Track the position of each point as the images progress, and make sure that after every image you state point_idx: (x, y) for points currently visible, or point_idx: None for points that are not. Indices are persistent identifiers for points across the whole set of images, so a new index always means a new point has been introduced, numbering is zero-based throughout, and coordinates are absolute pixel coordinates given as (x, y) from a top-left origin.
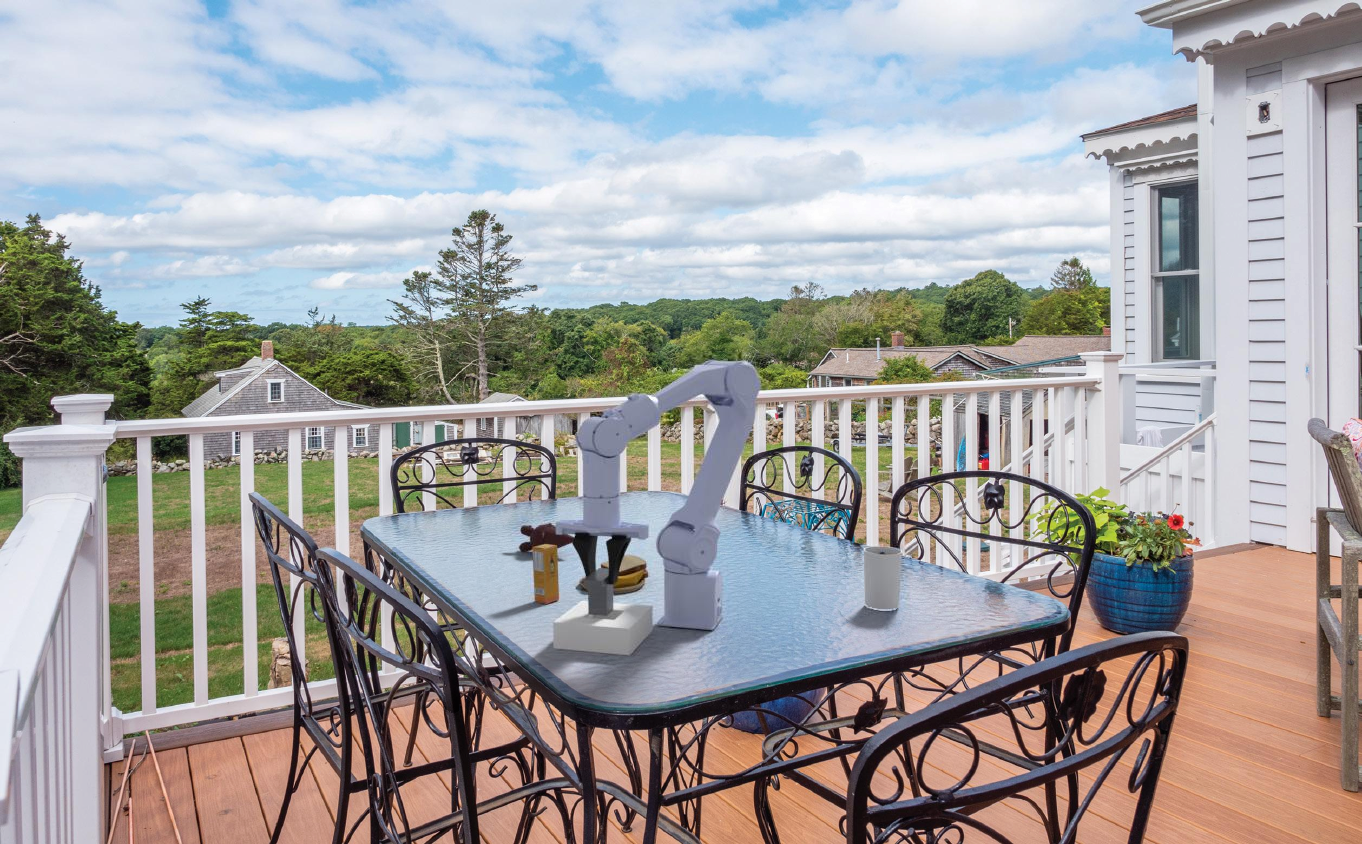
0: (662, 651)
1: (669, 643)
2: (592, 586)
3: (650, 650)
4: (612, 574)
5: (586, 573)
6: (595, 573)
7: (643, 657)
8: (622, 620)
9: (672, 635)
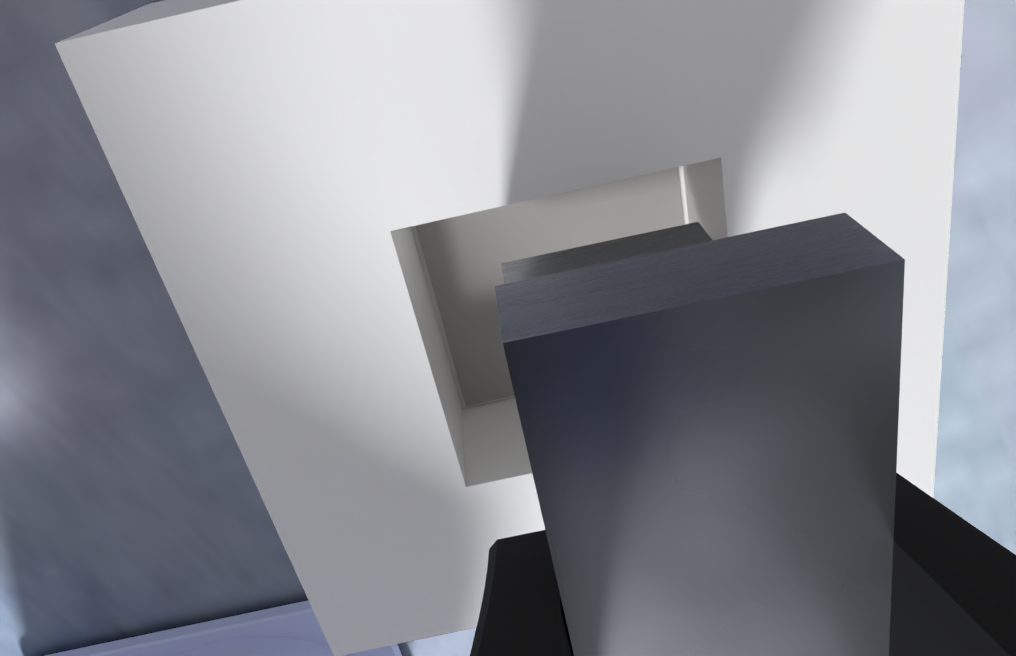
0: (3, 215)
1: (87, 376)
2: (673, 250)
3: (95, 191)
4: (487, 645)
5: (963, 536)
6: (830, 624)
7: (21, 19)
8: (309, 251)
9: (181, 504)
